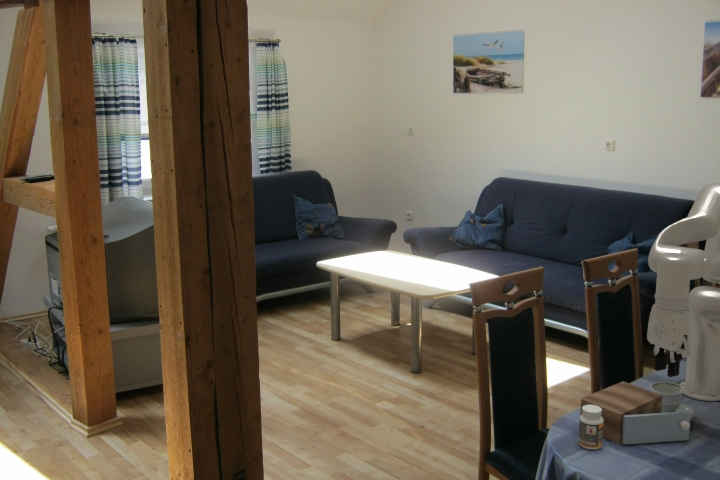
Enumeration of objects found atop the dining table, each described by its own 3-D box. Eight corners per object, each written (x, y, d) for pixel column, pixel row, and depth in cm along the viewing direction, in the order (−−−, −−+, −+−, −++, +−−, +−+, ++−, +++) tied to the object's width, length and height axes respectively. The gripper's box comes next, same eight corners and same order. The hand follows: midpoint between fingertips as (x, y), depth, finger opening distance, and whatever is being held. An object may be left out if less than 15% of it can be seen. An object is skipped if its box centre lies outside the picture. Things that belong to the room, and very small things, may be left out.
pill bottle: (603, 451, 182) (605, 414, 180) (579, 449, 184) (581, 412, 181) (601, 440, 188) (602, 404, 186) (577, 438, 189) (579, 402, 187)
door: (626, 447, 183) (628, 419, 182) (621, 442, 186) (623, 415, 184) (691, 442, 185) (694, 415, 183) (686, 438, 187) (688, 411, 186)
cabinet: (621, 408, 206) (623, 381, 204) (660, 423, 196) (662, 395, 194) (579, 426, 195) (581, 398, 194) (618, 443, 186) (620, 414, 184)
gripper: (635, 296, 188) (631, 363, 192) (685, 314, 173) (680, 387, 177) (658, 292, 191) (654, 359, 195) (710, 310, 176) (704, 382, 180)
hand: (666, 372), depth 186 cm, fingers open, 3 cm apart
